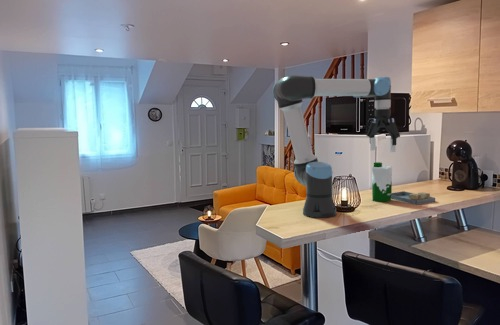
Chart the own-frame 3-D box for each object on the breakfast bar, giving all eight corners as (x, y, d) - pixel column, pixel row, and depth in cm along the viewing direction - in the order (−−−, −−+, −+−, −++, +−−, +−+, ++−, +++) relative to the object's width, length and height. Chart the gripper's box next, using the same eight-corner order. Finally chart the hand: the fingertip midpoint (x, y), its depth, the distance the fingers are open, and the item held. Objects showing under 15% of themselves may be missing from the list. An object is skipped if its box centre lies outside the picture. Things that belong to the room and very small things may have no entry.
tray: (416, 205, 184) (416, 200, 183) (385, 198, 202) (385, 193, 201) (435, 202, 189) (435, 197, 189) (403, 195, 207) (403, 191, 207)
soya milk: (375, 198, 201) (376, 161, 199) (393, 200, 196) (393, 162, 194) (370, 202, 194) (370, 163, 192) (388, 204, 189) (388, 164, 187)
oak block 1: (416, 203, 186) (417, 195, 185) (409, 202, 189) (409, 194, 188) (420, 202, 188) (420, 194, 188) (412, 201, 191) (413, 193, 191)
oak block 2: (424, 202, 188) (424, 194, 187) (417, 200, 191) (417, 193, 191) (429, 201, 189) (429, 193, 189) (423, 199, 193) (423, 192, 193)
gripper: (408, 107, 180) (407, 152, 182) (370, 109, 202) (370, 149, 205) (396, 108, 177) (396, 153, 179) (359, 109, 199) (359, 150, 202)
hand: (382, 151), depth 192 cm, fingers open, 13 cm apart
